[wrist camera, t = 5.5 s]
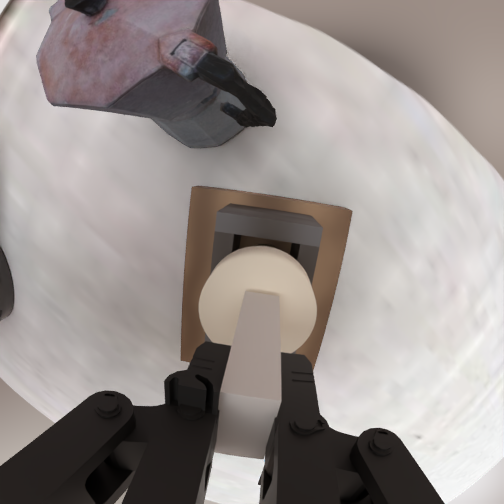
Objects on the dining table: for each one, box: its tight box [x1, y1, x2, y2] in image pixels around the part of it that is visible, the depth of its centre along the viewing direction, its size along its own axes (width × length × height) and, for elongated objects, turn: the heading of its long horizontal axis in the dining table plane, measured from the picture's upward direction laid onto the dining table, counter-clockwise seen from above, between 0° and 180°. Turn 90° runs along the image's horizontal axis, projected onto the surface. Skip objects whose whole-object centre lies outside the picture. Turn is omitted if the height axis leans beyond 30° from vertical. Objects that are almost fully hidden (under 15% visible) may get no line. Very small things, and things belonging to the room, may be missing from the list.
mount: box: [181, 186, 352, 369], centre depth 25 cm, size 14×18×8 cm
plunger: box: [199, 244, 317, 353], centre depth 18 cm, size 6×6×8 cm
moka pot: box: [36, 0, 277, 148], centre depth 15 cm, size 10×15×20 cm, turn 56°
